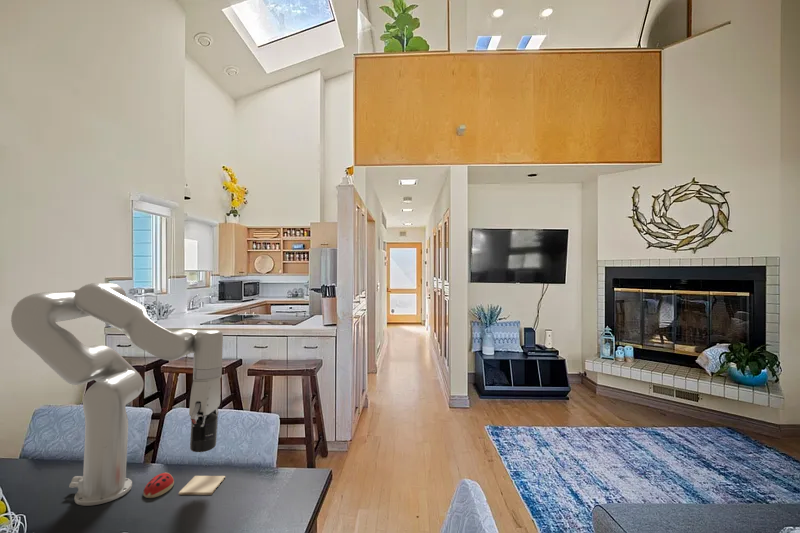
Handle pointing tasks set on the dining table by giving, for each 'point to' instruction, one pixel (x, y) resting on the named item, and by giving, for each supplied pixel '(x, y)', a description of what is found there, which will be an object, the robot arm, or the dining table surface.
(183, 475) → the dining table surface
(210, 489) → the cork coaster
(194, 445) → the supplement bottle
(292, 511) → the dining table surface
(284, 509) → the dining table surface
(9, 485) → the dining table surface
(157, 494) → the ladybug figurine
